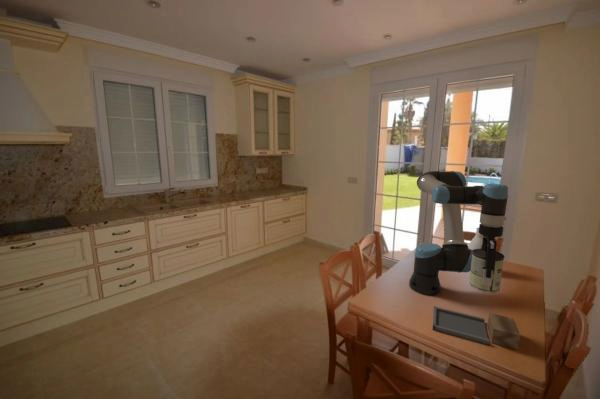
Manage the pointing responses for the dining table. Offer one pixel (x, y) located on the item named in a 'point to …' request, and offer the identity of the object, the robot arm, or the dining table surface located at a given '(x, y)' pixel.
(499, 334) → the ledge block
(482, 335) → the tray mat
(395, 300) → the dining table surface
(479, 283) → the coffee can
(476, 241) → the bottle
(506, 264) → the dining table surface
